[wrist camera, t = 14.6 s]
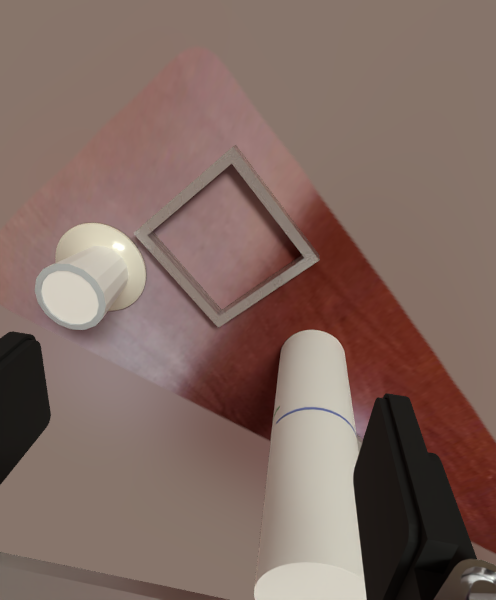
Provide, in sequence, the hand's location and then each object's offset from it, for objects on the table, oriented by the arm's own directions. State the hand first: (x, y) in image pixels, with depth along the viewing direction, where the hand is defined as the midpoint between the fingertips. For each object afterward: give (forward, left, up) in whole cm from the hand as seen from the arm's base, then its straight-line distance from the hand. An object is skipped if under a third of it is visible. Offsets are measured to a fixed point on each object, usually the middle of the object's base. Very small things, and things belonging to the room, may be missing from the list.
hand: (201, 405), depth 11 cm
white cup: (+5, +20, -30) cm, 36 cm away
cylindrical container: (-17, +8, -31) cm, 36 cm away
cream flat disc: (+5, +20, -30) cm, 37 cm away
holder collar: (-1, +7, -30) cm, 31 cm away
